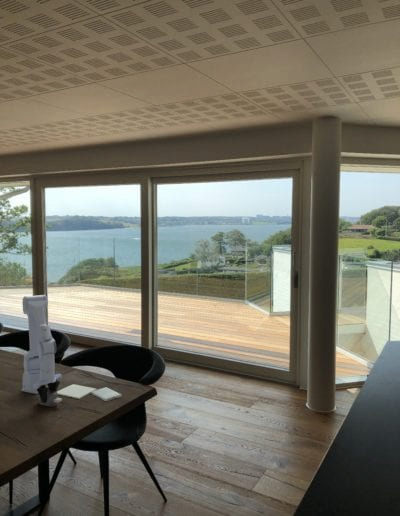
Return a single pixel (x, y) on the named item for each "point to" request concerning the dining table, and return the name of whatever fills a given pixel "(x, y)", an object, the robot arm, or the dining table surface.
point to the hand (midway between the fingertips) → (48, 400)
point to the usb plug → (51, 399)
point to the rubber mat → (75, 391)
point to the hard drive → (106, 394)
